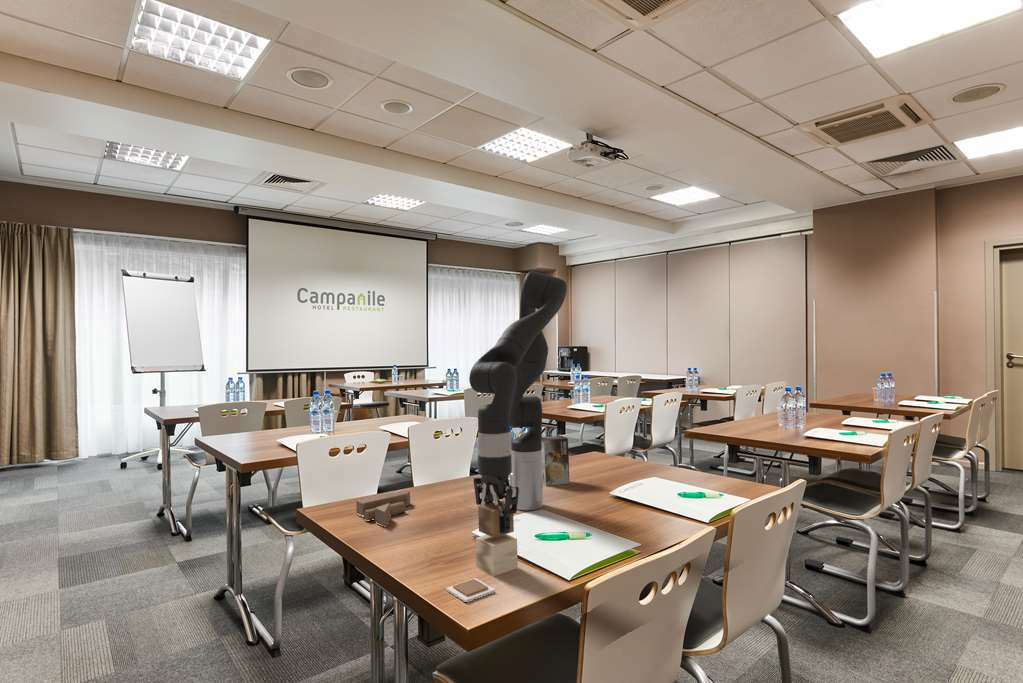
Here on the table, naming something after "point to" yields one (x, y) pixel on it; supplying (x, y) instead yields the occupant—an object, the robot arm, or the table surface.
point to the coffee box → (555, 461)
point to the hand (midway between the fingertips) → (496, 528)
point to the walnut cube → (492, 520)
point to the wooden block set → (383, 506)
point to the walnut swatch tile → (470, 590)
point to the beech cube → (496, 554)
